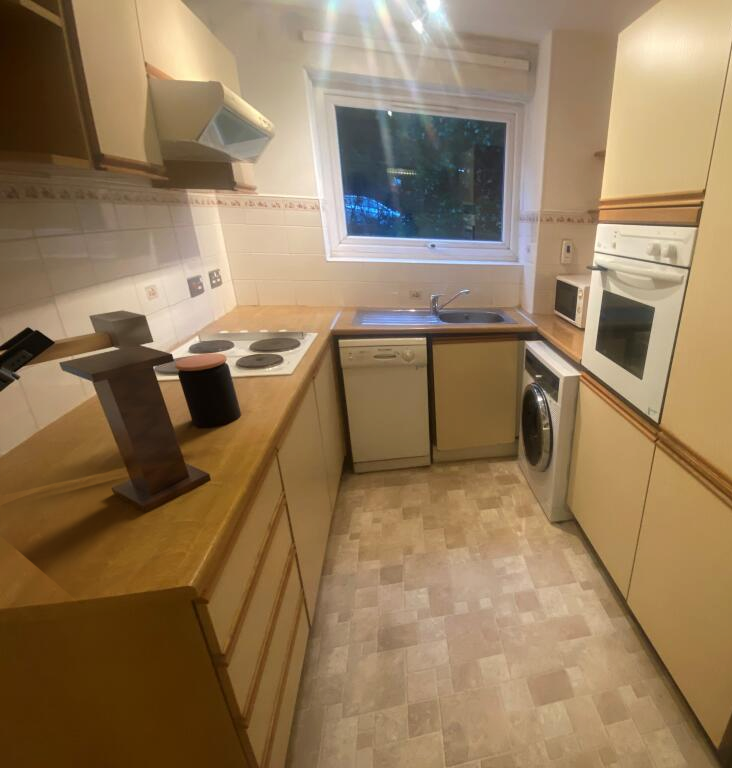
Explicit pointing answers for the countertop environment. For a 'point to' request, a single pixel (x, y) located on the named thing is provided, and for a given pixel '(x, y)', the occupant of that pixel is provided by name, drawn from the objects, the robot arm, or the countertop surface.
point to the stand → (139, 424)
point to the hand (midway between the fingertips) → (41, 335)
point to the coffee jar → (208, 390)
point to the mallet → (101, 336)
